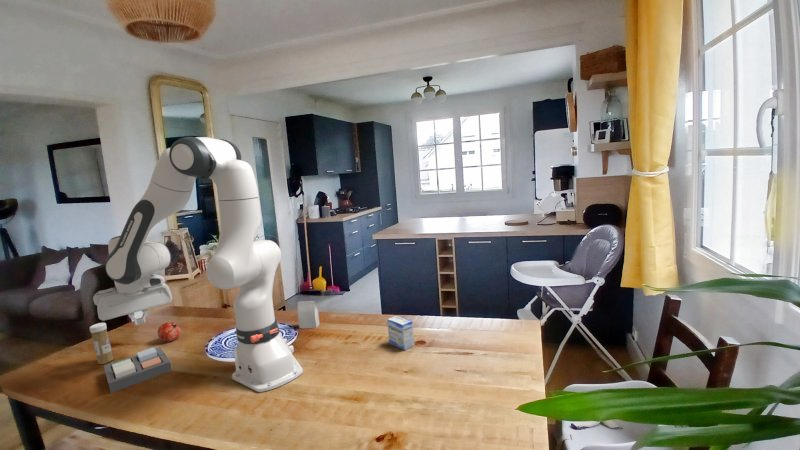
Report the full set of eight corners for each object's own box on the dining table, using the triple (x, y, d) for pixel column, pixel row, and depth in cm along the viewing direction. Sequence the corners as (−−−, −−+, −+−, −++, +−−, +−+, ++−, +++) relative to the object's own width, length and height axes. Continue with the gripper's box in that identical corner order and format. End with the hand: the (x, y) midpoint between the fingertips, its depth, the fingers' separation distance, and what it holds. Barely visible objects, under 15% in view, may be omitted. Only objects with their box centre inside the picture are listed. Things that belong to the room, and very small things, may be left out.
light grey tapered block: (316, 328, 147) (313, 302, 146) (299, 328, 148) (296, 303, 147) (319, 324, 151) (316, 299, 149) (303, 324, 152) (299, 300, 150)
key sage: (133, 370, 125) (132, 363, 125) (115, 376, 122) (113, 369, 121) (131, 365, 129) (130, 358, 128) (113, 371, 125) (111, 364, 125)
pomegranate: (157, 350, 145) (170, 336, 142) (148, 334, 147) (161, 320, 143) (175, 343, 152) (188, 330, 149) (167, 328, 154) (179, 314, 150)
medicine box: (388, 343, 129) (386, 319, 127) (398, 339, 132) (396, 314, 130) (405, 351, 123) (402, 325, 122) (415, 345, 126) (412, 320, 124)
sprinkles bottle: (113, 361, 135) (105, 324, 133) (97, 366, 132) (88, 328, 130) (114, 356, 138) (106, 321, 136) (98, 361, 136) (89, 324, 134)
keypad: (172, 370, 124) (170, 361, 124) (110, 393, 114) (108, 383, 113) (161, 355, 136) (160, 347, 136) (105, 374, 126) (103, 365, 125)
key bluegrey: (158, 358, 129) (156, 351, 129) (140, 364, 126) (139, 357, 126) (155, 353, 133) (153, 347, 133) (138, 359, 130) (136, 352, 129)
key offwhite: (136, 374, 120) (135, 367, 119) (116, 381, 116) (115, 374, 116) (134, 369, 123) (132, 362, 123) (115, 375, 120) (113, 368, 120)
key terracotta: (163, 368, 124) (161, 361, 124) (144, 375, 121) (143, 368, 121) (160, 363, 128) (158, 356, 128) (142, 369, 125) (140, 362, 124)
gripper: (92, 294, 116) (102, 337, 118) (169, 277, 129) (176, 316, 132) (90, 290, 121) (100, 332, 123) (165, 274, 134) (172, 312, 136)
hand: (140, 323), depth 128 cm, fingers closed
